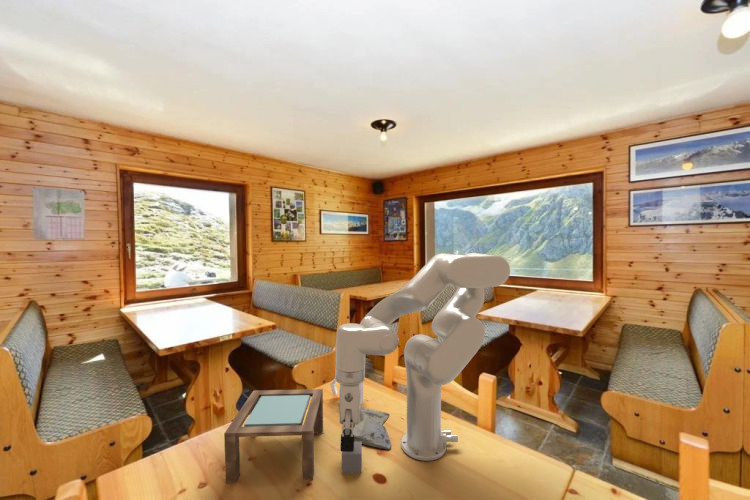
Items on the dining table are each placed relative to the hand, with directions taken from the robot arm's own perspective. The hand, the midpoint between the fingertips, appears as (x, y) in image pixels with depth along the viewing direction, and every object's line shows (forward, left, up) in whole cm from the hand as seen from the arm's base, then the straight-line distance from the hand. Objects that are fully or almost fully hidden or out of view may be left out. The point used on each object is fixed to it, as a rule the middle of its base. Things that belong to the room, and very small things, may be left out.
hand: (347, 438), depth 84 cm
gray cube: (-1, 0, -8) cm, 8 cm away
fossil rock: (-6, -16, -9) cm, 19 cm away
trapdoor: (+19, -6, +4) cm, 20 cm away
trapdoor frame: (+19, -6, -8) cm, 22 cm away
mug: (+2, -32, -8) cm, 33 cm away
